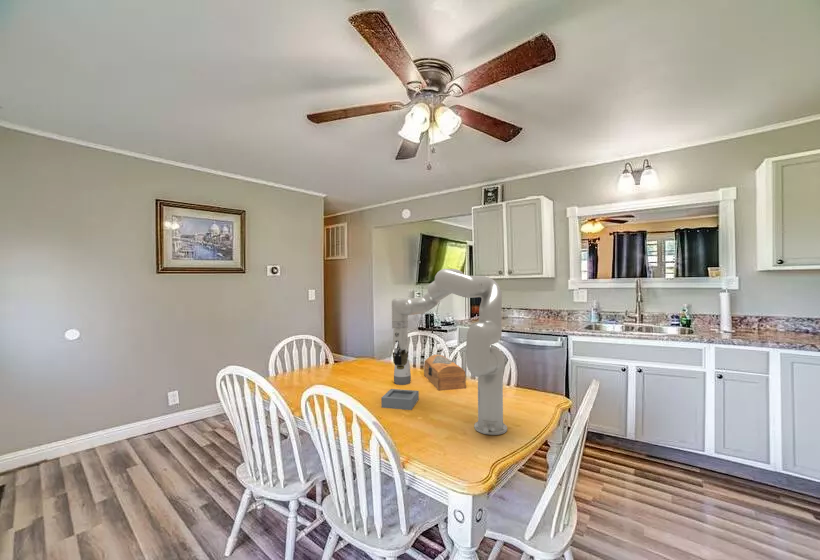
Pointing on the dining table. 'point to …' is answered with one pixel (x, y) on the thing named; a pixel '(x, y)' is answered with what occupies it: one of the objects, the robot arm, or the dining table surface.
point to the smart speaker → (402, 375)
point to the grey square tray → (400, 399)
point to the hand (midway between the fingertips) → (400, 362)
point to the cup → (404, 359)
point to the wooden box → (444, 373)
